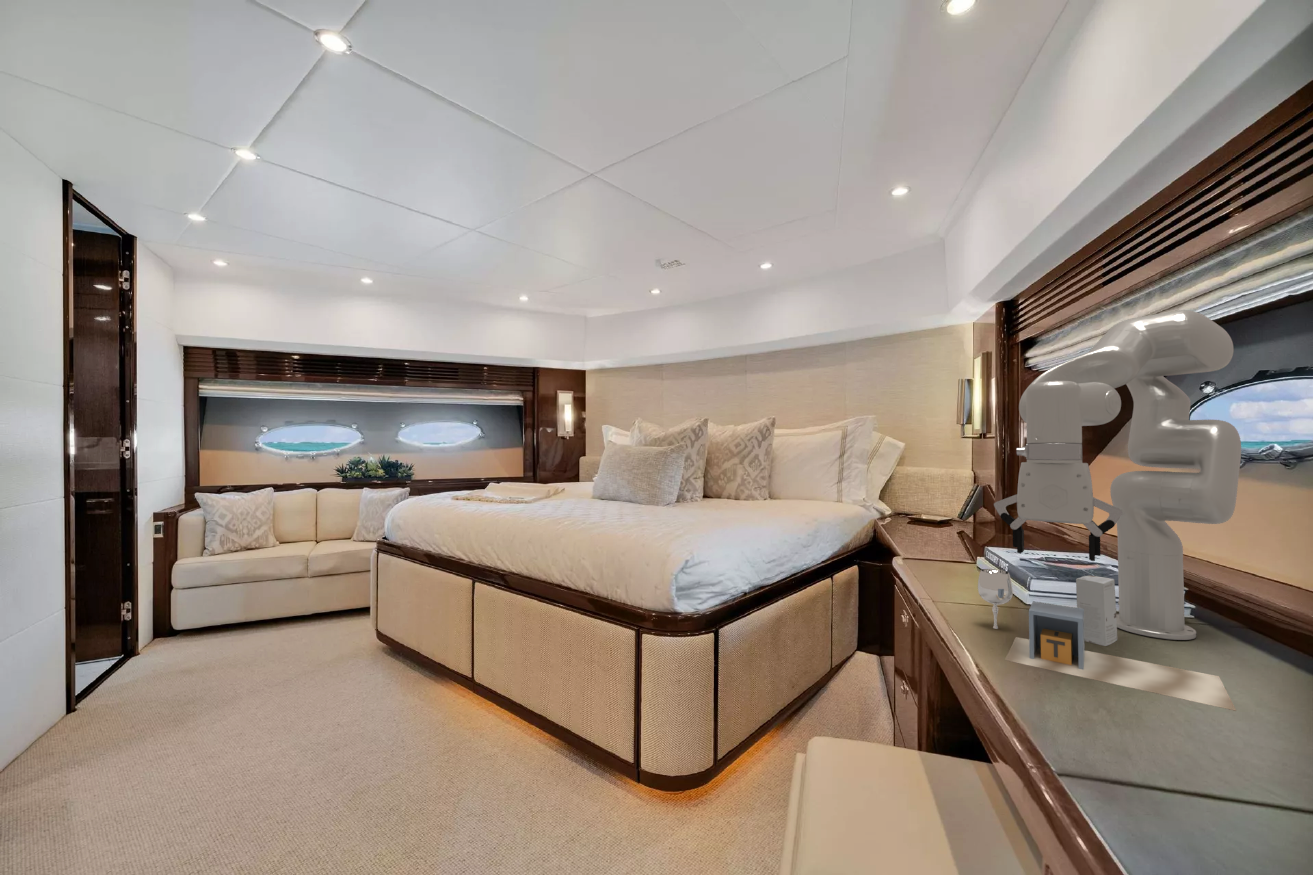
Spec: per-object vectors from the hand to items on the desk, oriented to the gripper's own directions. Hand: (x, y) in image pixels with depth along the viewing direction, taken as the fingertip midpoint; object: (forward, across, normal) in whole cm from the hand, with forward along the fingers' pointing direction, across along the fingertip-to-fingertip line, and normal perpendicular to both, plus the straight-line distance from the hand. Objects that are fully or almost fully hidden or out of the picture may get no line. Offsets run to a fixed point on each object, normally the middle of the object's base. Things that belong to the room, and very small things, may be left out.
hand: (1055, 555), depth 88 cm
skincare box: (+18, +5, +16) cm, 25 cm away
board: (+18, +6, 0) cm, 19 cm away
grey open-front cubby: (+17, 0, 0) cm, 17 cm away
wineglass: (+18, -10, +11) cm, 23 cm away
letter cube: (+17, 0, 0) cm, 17 cm away
